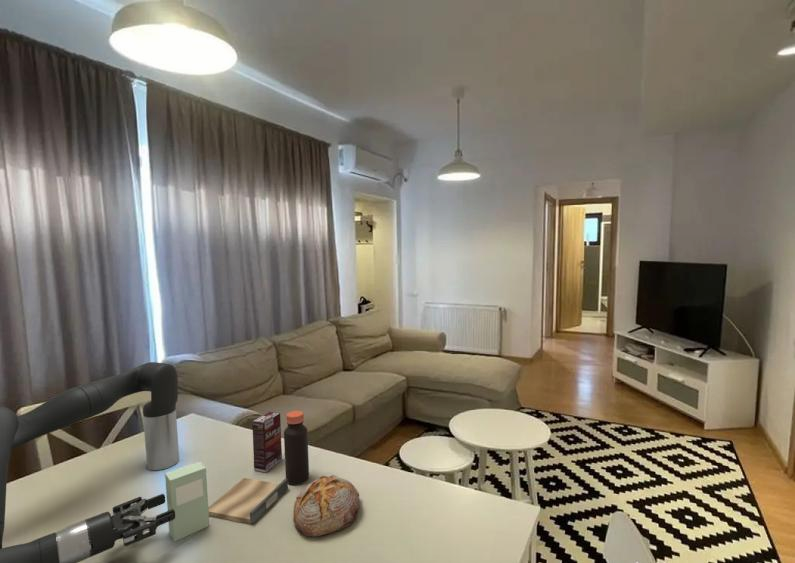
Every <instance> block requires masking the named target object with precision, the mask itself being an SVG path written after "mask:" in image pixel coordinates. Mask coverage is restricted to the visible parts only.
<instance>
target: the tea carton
mask: <svg viewBox="0 0 795 563" xmlns="http://www.w3.org/2000/svg"><path fill="white" fill-rule="evenodd" d="M164 478H165V490H166V491H165V492H166V494H165V495H166V505H167V511H169V510H171V509H174V511H175V519H174V520H172V521H169V522H168V532H169V535H170V536H171V538H172V539H173V541H174V542H177V541H178V540H181V539H183V538H185V537H187V536H189V535H191V534H194V533H196V532H198V531H201V530H204V529H205V528H208V527H210V516H209V509H208V507H209V496H208V495H209V494H208V483H207V482H208V481H207V467H206V466H205V465H204V464H203V463H202V462H201V461H199V460H198V461H197V462H194V463H191V464H187V465H185V466H183V467H180V468H176V469H173V470H170V471H168V472H165V473H164Z"/></svg>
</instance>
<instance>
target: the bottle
mask: <svg viewBox="0 0 795 563" xmlns="http://www.w3.org/2000/svg"><path fill="white" fill-rule="evenodd" d="M304 415H305V414H304V412H303V410H302V411H301V410H294V411H289V412H288V413H286V415H285V416H286V424H287V427H286V428H285V429H284V432H283V444H284V446H283V447H284V467H285V468H284V470H285V479H288V485H289V484H290V485H293V486H294V485H295V486H297V485H301V484H304V483H306V482H307V481H308V480H309V478H310V463H309V461H310V460H309V459H310V458H309V441H308V440H309V437H308V427H307V426H306V425H304V419H305V418H304Z"/></svg>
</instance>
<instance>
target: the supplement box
mask: <svg viewBox="0 0 795 563" xmlns="http://www.w3.org/2000/svg"><path fill="white" fill-rule="evenodd" d="M281 422H282V421H281V413H280V412H276V411H268V412H267V413H265V414H262V415H261V416H259V417H258V418H256V419H254V420H252V447H253V451H252V452H253V453H252V454H253V471H256V472H261V473H267V472H269V470H272V468H273V467H275V466H276V465H277V464H278V463H280V462H281V461H283V455H282V454H283V449H282V447H283V446H282V428H281V427H282V426H281V424H282V423H281Z"/></svg>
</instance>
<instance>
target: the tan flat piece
mask: <svg viewBox="0 0 795 563" xmlns="http://www.w3.org/2000/svg"><path fill="white" fill-rule="evenodd" d="M288 490H289V483H288V479H286V478H284V479H283V480H282V481H281V482H280V483H279V482H272V481H264V480H260V479H253V478H247V477H243V478H242V479H241V480H240V481H239V482H237V483H236V484H235V485H233V486H232V487H231V488H230V489H229V490H227V491H226V492H225V493H224V494H223V495H221V497H219V498H218V499H217V500H216V501H214V502H213V503H212V504H210V505H208V509H209V517H214V518H219V519H223V520H227V521H233V522H238V523H244V524H247V525H248V524H249V525H254V524H255V523H256V522H257V521H258V520H260V518H262V516H263V515H264V514H265V513H267V511H269V509H271V507H273V505H274V504H275V503H276V502H277V501H278V500H279V499H280V498H281V497H282V496H283V495H284V494H285V493H286V492H288Z"/></svg>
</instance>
